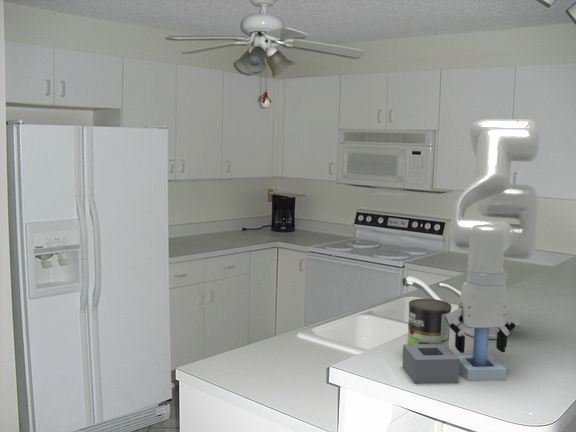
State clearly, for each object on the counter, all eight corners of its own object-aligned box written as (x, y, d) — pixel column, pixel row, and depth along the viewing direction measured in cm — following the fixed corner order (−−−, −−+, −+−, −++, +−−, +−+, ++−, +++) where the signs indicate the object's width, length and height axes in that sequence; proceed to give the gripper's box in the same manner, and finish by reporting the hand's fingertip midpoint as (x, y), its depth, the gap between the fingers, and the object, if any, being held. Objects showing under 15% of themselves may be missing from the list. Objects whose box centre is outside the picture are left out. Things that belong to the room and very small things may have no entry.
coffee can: (421, 368, 144) (423, 311, 142) (398, 354, 153) (400, 300, 151) (457, 363, 147) (460, 307, 145) (433, 349, 157) (435, 297, 155)
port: (443, 367, 144) (444, 343, 143) (458, 384, 134) (459, 359, 134) (402, 368, 143) (403, 344, 142) (414, 385, 133) (415, 359, 133)
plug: (482, 369, 142) (485, 320, 140) (488, 375, 139) (491, 324, 137) (469, 370, 142) (472, 320, 140) (475, 375, 139) (478, 325, 137)
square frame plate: (489, 367, 145) (490, 355, 145) (506, 382, 136) (506, 369, 136) (453, 367, 144) (453, 355, 144) (467, 382, 135) (468, 370, 135)
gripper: (513, 274, 142) (509, 344, 144) (442, 275, 140) (438, 345, 143) (528, 282, 134) (523, 355, 137) (453, 282, 133) (449, 357, 135)
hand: (480, 350), depth 140 cm, fingers open, 9 cm apart
